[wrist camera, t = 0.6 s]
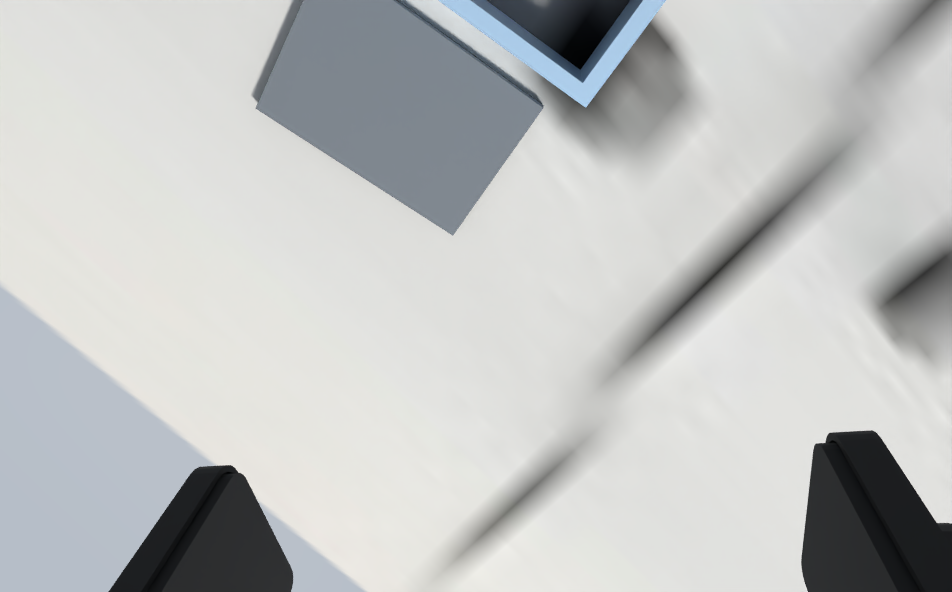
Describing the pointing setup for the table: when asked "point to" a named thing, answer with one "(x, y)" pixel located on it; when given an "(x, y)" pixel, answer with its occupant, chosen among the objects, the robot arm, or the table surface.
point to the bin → (549, 63)
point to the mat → (397, 104)
